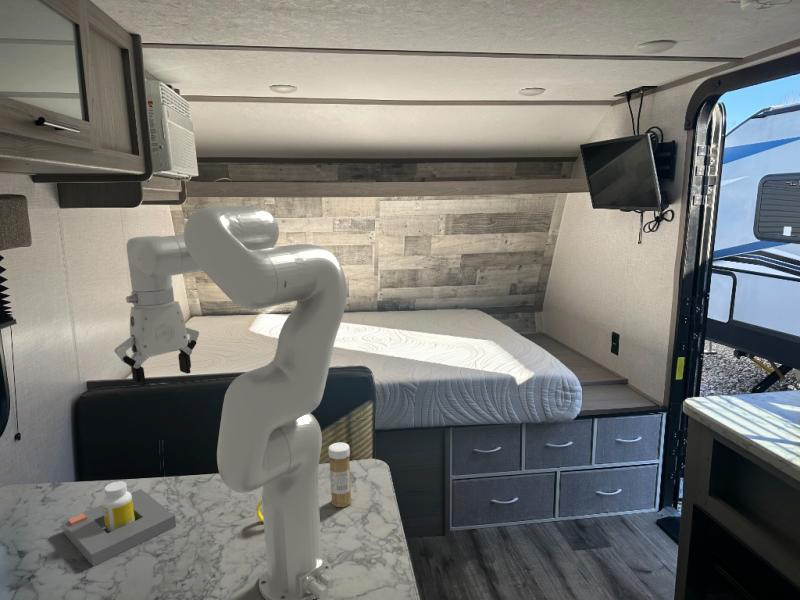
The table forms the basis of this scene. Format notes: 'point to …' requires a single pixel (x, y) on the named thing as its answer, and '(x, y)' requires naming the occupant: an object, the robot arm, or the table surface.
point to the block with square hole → (107, 545)
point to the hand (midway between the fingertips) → (163, 378)
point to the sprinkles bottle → (340, 474)
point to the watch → (259, 511)
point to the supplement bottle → (117, 506)
